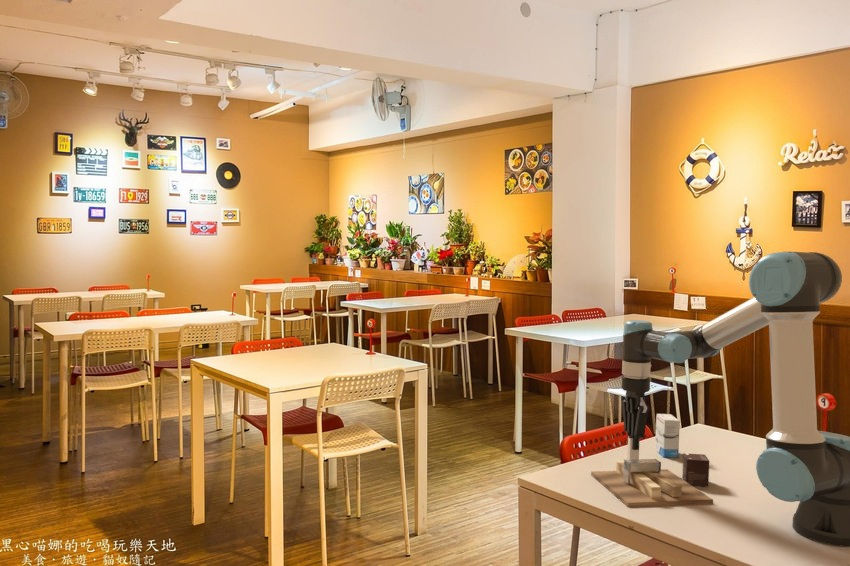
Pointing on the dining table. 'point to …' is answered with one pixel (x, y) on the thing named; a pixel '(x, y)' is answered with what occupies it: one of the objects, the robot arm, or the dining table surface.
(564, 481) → the dining table surface
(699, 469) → the box
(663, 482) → the bar
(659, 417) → the ink box
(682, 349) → the robot arm
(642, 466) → the lock collar
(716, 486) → the dining table surface
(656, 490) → the fixed tong arm
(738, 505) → the dining table surface
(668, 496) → the walnut board
